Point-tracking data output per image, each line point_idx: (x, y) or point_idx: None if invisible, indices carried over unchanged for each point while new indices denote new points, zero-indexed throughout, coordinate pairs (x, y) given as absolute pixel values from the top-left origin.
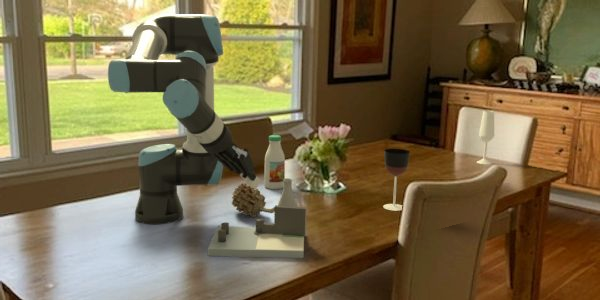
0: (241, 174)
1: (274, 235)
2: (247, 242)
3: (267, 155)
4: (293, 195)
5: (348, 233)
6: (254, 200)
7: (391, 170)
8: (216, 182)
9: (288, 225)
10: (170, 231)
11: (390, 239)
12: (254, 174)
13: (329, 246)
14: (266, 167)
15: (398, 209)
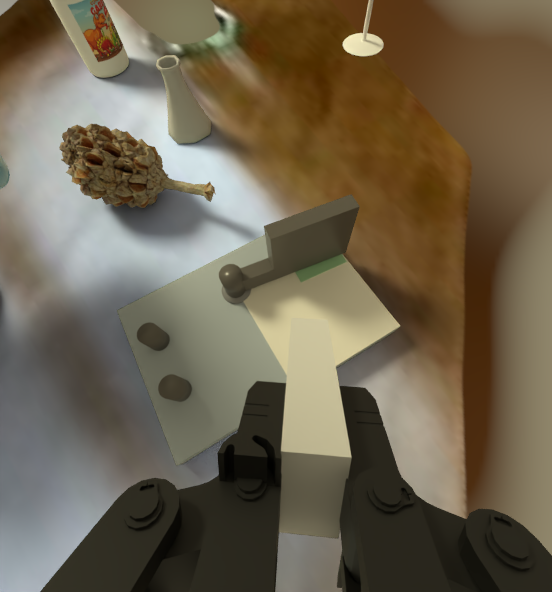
0: (292, 526)
1: (279, 285)
2: (246, 359)
3: None
4: (195, 99)
5: (378, 172)
6: (140, 173)
7: None
8: (1, 186)
9: (309, 254)
10: (4, 378)
11: (463, 156)
12: (381, 424)
13: (394, 245)
14: (69, 24)
15: (377, 48)
